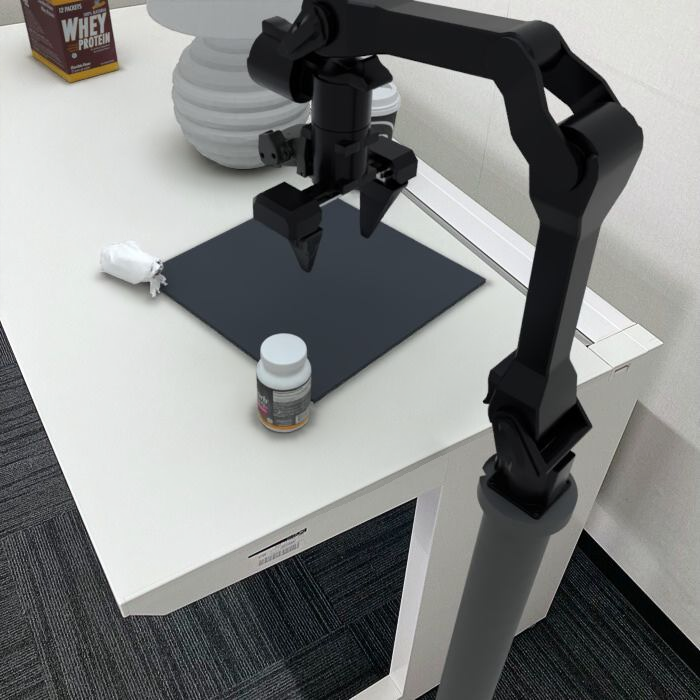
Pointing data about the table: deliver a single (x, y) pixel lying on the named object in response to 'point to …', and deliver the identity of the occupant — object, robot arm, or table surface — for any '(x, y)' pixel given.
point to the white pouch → (132, 264)
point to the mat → (318, 291)
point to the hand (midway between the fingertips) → (336, 253)
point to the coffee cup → (385, 109)
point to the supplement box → (71, 36)
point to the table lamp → (225, 77)
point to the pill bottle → (283, 383)
